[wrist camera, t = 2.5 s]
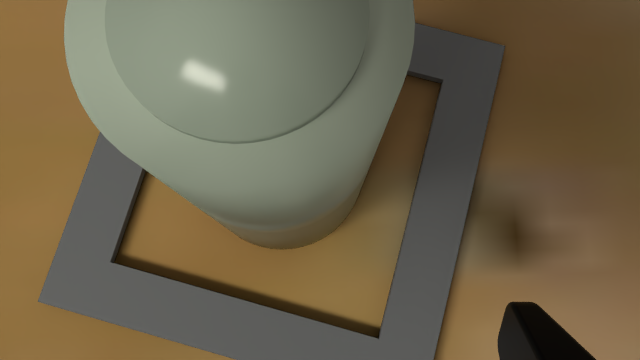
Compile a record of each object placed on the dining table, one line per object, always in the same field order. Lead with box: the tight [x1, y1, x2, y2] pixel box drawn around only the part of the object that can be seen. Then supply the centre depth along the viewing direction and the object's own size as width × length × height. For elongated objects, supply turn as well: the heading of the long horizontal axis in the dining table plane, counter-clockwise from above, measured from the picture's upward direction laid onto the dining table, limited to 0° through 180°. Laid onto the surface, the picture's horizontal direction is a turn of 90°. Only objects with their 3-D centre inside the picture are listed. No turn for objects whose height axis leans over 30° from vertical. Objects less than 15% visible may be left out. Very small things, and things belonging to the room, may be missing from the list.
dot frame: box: [38, 23, 505, 360], centre depth 21 cm, size 14×14×1 cm
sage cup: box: [64, 0, 415, 249], centre depth 15 cm, size 6×6×12 cm
